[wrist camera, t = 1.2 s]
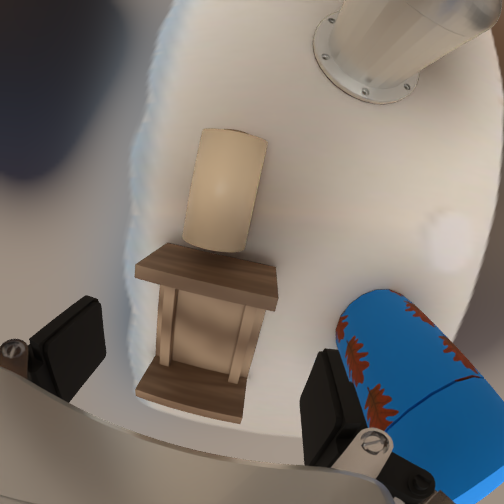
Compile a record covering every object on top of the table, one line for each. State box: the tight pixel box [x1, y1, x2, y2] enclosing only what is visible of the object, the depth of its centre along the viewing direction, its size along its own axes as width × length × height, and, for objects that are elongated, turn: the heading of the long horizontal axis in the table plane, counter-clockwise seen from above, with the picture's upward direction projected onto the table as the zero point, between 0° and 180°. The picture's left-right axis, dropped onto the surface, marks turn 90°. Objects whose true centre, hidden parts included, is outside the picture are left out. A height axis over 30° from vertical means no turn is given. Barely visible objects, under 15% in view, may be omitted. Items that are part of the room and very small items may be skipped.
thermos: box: [336, 290, 504, 504], centre depth 18 cm, size 11×11×25 cm
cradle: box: [135, 243, 278, 424], centre depth 27 cm, size 16×12×8 cm
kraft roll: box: [182, 129, 268, 252], centre depth 25 cm, size 11×6×6 cm, turn 168°
